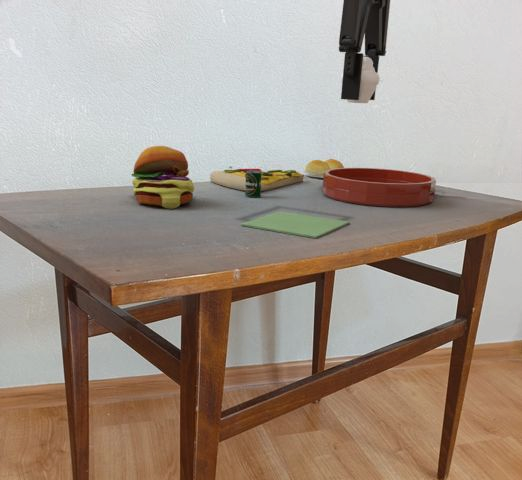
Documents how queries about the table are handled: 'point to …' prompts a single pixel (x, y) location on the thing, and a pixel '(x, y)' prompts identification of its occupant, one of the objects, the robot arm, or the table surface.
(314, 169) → the bread roll
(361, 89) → the muffin
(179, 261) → the table surface
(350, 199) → the pan
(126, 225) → the table surface
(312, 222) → the cloth
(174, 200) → the cheeseburger
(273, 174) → the pizza slice
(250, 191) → the beer can
